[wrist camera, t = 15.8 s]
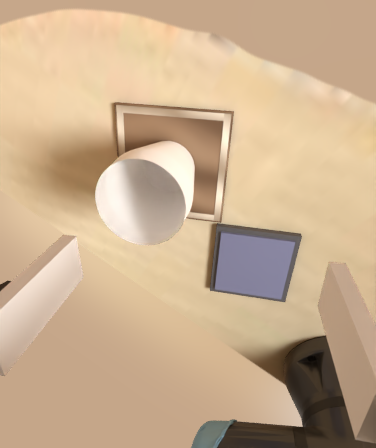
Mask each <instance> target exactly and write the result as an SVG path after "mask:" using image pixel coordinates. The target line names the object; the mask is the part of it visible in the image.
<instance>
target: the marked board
mask: <svg viewBox="0 0 376 448" xmlns="http://www.w3.org/2000/svg"><path fill="white" fill-rule="evenodd" d="M233 114H234V112H233V111H220V110H207V109H194V108H181V107H168V106H155V105H143V104H130V103H115V115H116V133H117V151H118V157H119V156H121V155H122V154H124V153H126V152H128V151H130V150H133V149H137V148H140V147H143V146H147V145H150V144H154V143H157V142H161V141H173V142H176V143H178V144H180V145H182V146H183V147H185V148H186V149H187V150H188V152H189V153H190V154H191V156H192V158H193V161H194V166H195V173H194V193H193V202H192V206H191V210H190V212H189V214H188V216H187V217H186V218H188V219H196V220H204V221H212V222H220V223H221V220H222V211H223V202H224V193H225V185H226V176H227V167H228V158H229V149H230V140H231V132H232V123H233Z"/></svg>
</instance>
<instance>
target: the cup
mask: <svg viewBox="0 0 376 448" xmlns="http://www.w3.org/2000/svg"><path fill="white" fill-rule="evenodd" d="M194 173H195V166H194V161H193V158H192V156H191V154H190V153H189V152H188V150H187V149H186V148H185V147H183V146H182V145H180V144H178V143H176V142H173V141H161V142H157V143H154V144H150V145H147V146H143V147H140V148H137V149H133V150H130V151H128V152H126V153H124V154H122V155H121V156H119V157H118V158H117V159H116V160H115V161H114V162H113V163H112V164H111V165H110V166H109V167H108V168H107V169H106V170H105V171H104V172H103V173H102V175H101V176H100V178H99V180H98V183H97V186H96V191H95V200H96V206H97V209H98V212H99V214H100V216H101V218H102V220H103V221H104V223H105V224H106V226H107V227H108V228H109V229H110V230H111V231H112V232H113V233H115V234H116V235H117V236H119V237H120V238H122V239H124V240H126V241H128V242H131V243H134V244H138V245H156V244H160V243H163V242H165V241H167V240H169V239H170V238H172V237H173V236H174V235H175V234H176V233H177V232H178V231H179V229H180V228H181V226H182V224H183V222H184V220H185V219H186V217H187V216H188V214H189V212H190V210H191V206H192V202H193V193H194Z"/></svg>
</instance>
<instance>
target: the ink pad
mask: <svg viewBox="0 0 376 448" xmlns="http://www.w3.org/2000/svg"><path fill="white" fill-rule="evenodd" d="M301 237H302V236H301V234H297V233H289V232H281V231H274V230H266V229H258V228H250V227H242V226H234V225H226V224H218V223H217V229H216V239H215V248H214V257H213V267H212V276H211V286H210V291H216V292H223V293H229V294H236V295H242V296H249V297H255V298H262V299H268V300H274V301H281V302H285V300H286V296H287V292H288V288H289V284H290V280H291V277H292V273H293V269H294V265H295V261H296V257H297V253H298V249H299V245H300V241H301Z"/></svg>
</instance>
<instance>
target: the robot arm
mask: <svg viewBox="0 0 376 448" xmlns="http://www.w3.org/2000/svg"><path fill="white" fill-rule="evenodd" d="M82 278H83V272H82V267H81V261H80V255H79V250H78V244H77V238H76V236H68V235H63V236H62V237H60V238H59V239H58V240H57V241H56V242H55V243H54V244H53V245H52V246H50V247H49V248H48V249H47V250H46V251H45V252H44V253H43V254H42V255H40V256H39V257H38V258H37V259H36V260H35V261H34V262H33V263H31V264H30V265H29V266H28V267H27V268H26V269H25V270H24V271H23V272H21V273H20V274H19V275H18V276H17V277H16V278H15V279H14V280H12V281H6V282H5V283H3V284H0V375H2V376H5V375H6V374H7V373H8V371H9V370H10V369H11V368H12V366H13V365H14V364H15V363H16V361H17V360H18V359H19V358H20V356H21V355H22V354H23V352H24V351H25V350H26V349H27V348H28V346H29V345H30V343H32V341H33V340H34V339H35V337H36V336H37V335H38V334H39V332H40V331H41V330H42V329H43V327H44V326H45V325H46V324H47V322H48V321H49V320H50V319H51V317H52V316H53V315H54V314H55V312H56V311H57V310H58V309H59V307H60V306H61V305H62V304H63V302H64V301H65V300H66V298H67V297H68V296H69V295H70V293H71V292H72V291H73V290H74V288H75V287H76V286H77V285H78V283H79V282H80V281H81V280H82ZM318 309H319V312H320V316H321V320H322V323H323V327H324V330H325V334H326V337H320V338H315V339H311V340H308V341H306V342H304V343H302V344H300V345H298V346H297V347H295V348H294V349H293V350H292V351H291V352H290V353H289V354H288V355H287V357H286V359H285V362H284V377H285V383H286V387H287V389H288V391H289V393H290V395H291V397H292V399H293V401H294V404H295V406H296V408H297V410H298V412H299V414H300V416H301V418H302V425H303V427H296V426H285V425H273V424H261V423H249V422H237V420H230V421H208V422H206V423H205V424H203V425H202V426H201V427H200V429H199V430H198V432H197V434H196V436H195V438H194V441H193V444H192V447H191V448H376V324H375V322H374V320H373V318H372V316H371V314H370V312H369V310H368V308H367V306H366V304H365V302H364V300H363V298H362V296H361V294H360V292H359V289H358V287H357V285H356V283H355V281H354V279H353V277H352V275H351V273H350V271H349V269H348V267H347V265H346V263H337V262H329V263H328V267H327V271H326V275H325V279H324V283H323V287H322V291H321V295H320V299H319V302H318Z"/></svg>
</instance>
